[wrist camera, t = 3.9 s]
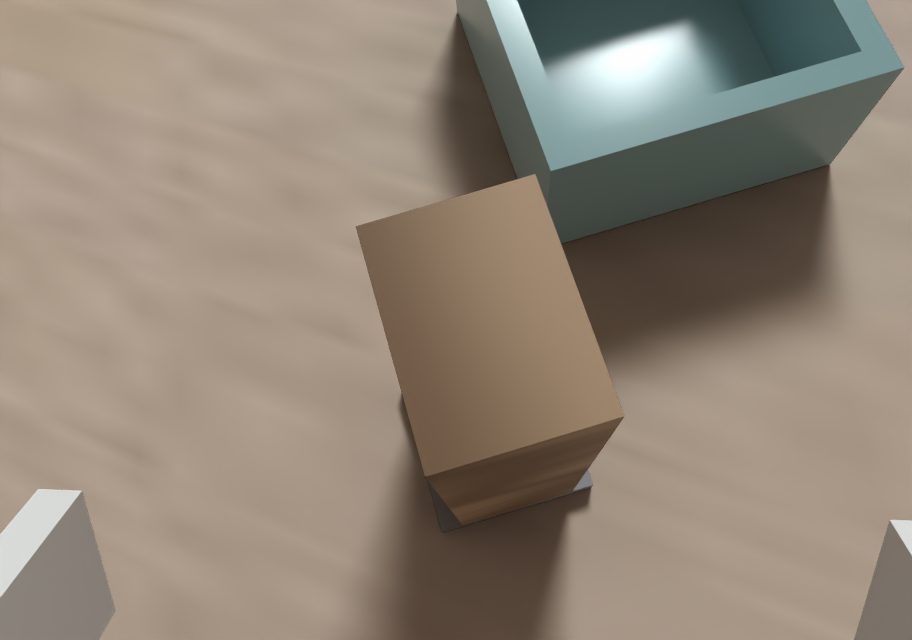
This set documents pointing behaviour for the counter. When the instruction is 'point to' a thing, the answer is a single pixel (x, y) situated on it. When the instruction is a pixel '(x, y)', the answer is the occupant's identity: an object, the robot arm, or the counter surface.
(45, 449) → the counter surface
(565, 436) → the wooden post on plate
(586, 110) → the teal storage bin
